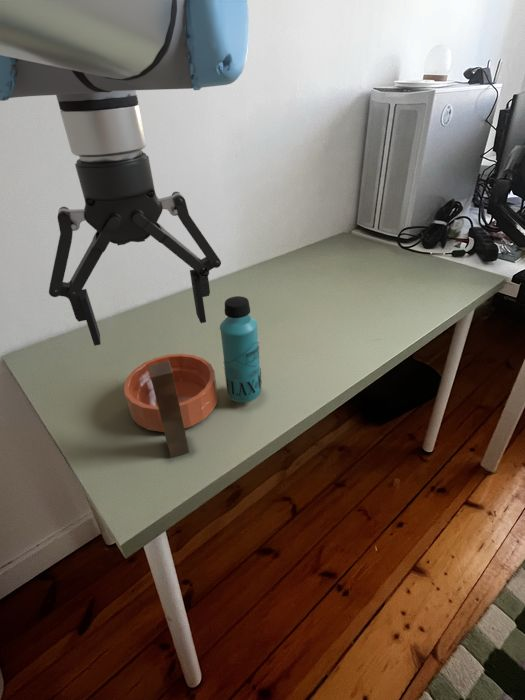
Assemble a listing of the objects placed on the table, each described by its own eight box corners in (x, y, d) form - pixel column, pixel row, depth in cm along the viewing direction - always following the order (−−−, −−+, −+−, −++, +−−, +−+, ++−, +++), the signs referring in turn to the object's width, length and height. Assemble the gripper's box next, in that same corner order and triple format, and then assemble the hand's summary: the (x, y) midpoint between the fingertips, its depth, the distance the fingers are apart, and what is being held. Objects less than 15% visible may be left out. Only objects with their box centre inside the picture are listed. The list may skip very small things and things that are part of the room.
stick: (185, 440, 71) (169, 360, 62) (189, 452, 69) (172, 372, 60) (167, 445, 71) (148, 365, 62) (170, 458, 68) (150, 377, 59)
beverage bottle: (221, 405, 78) (208, 307, 67) (236, 383, 83) (226, 289, 72) (254, 413, 76) (246, 313, 65) (268, 390, 81) (263, 293, 70)
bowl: (178, 448, 70) (172, 421, 66) (113, 416, 77) (104, 389, 74) (235, 394, 80) (232, 368, 77) (173, 370, 88) (167, 345, 85)
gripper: (218, 137, 51) (233, 298, 63) (-14, 162, 45) (51, 335, 57) (235, 146, 45) (249, 322, 57) (-29, 176, 39) (47, 365, 51)
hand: (150, 329), depth 57 cm, fingers open, 13 cm apart
